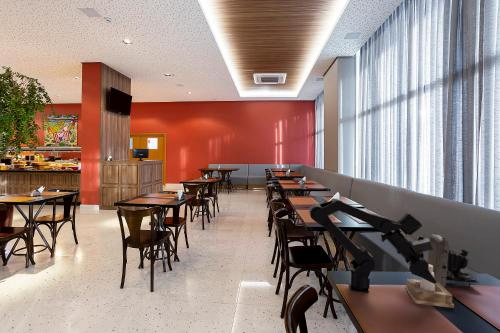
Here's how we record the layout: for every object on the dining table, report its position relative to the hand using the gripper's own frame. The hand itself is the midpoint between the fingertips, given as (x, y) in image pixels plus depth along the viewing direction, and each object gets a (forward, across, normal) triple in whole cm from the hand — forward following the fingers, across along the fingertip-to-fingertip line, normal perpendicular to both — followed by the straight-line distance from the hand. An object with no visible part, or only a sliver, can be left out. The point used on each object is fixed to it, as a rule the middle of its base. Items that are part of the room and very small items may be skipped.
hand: (433, 278), depth 104 cm
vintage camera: (+12, +18, -1) cm, 21 cm away
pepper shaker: (+4, 0, +6) cm, 7 cm away
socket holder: (+4, 0, +6) cm, 8 cm away
